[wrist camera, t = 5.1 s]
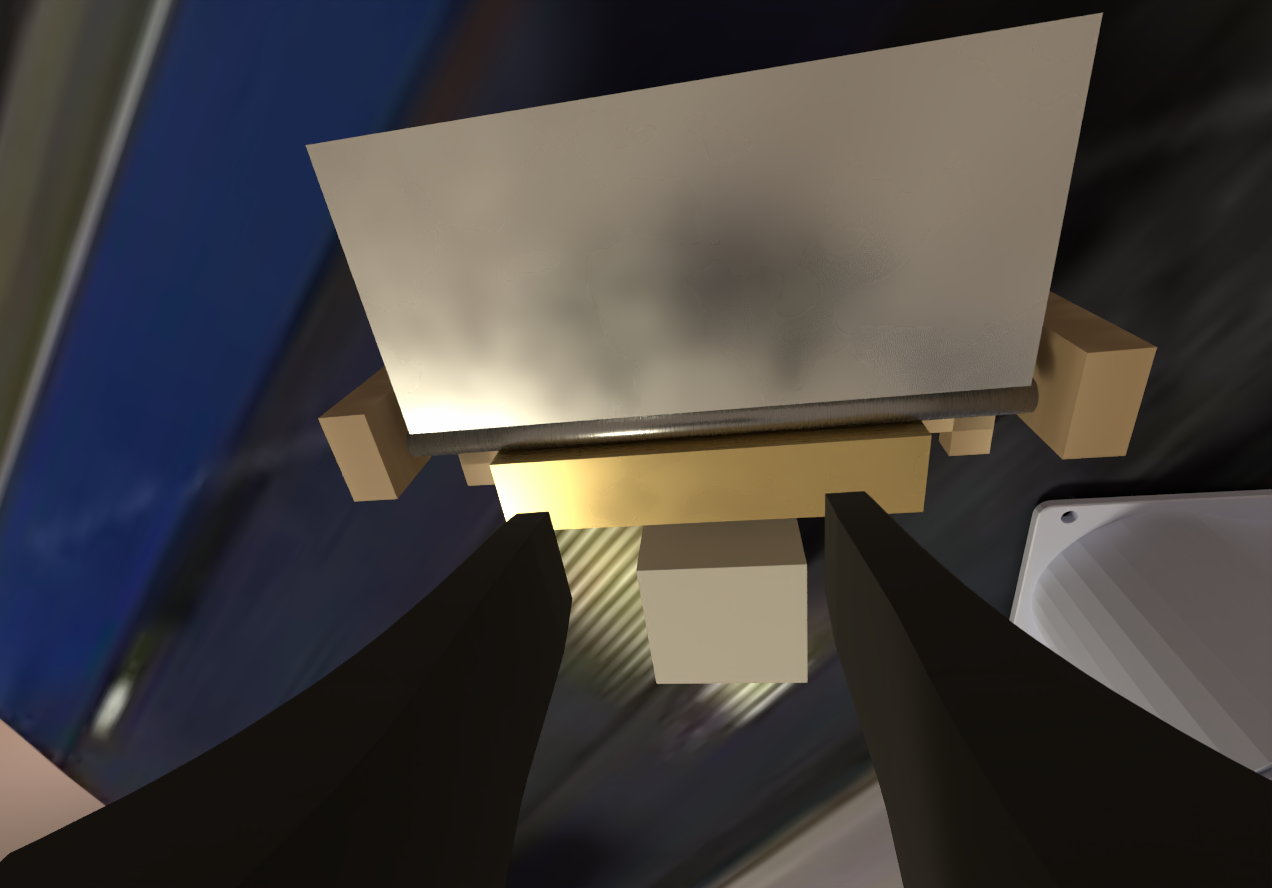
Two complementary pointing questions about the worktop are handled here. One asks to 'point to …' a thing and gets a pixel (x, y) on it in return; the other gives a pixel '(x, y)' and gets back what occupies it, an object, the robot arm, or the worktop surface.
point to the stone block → (725, 601)
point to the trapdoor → (722, 275)
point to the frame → (1064, 419)
